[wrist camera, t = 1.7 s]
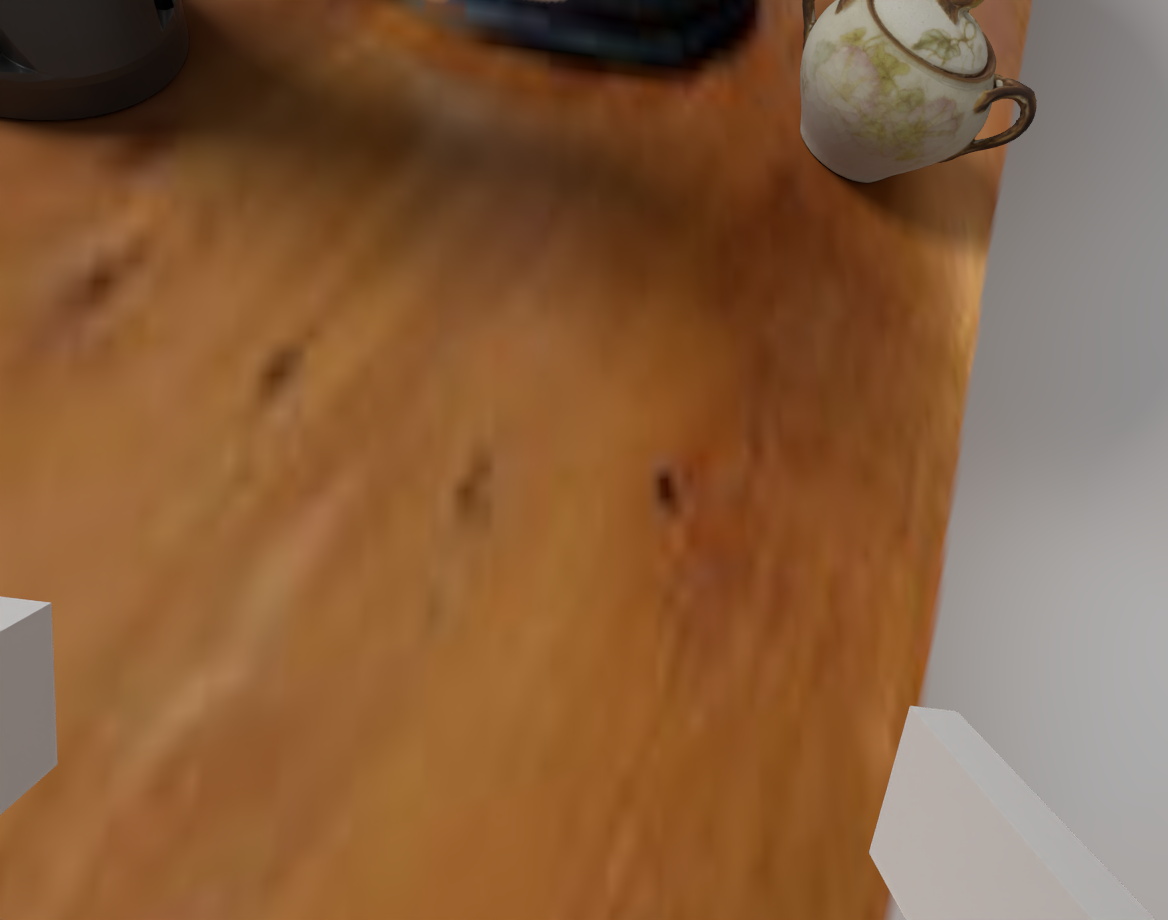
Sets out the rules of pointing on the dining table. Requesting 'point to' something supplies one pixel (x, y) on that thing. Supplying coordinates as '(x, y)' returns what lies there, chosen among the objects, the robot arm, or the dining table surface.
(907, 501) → the dining table surface
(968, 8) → the sugar bowl
